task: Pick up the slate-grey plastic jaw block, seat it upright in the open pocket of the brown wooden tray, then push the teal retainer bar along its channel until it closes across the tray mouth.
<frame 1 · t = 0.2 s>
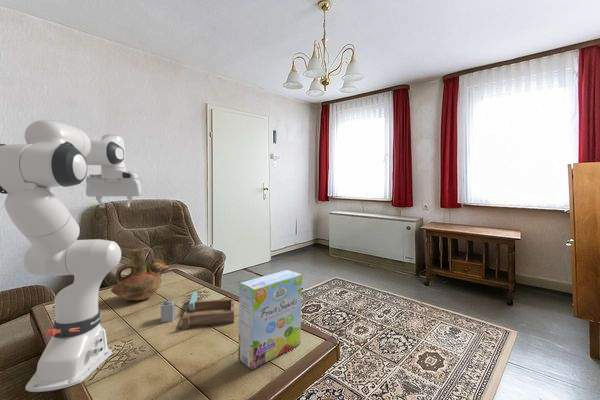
hand: (114, 207, 121), 47 cm above the table, fingers open, 8 cm apart
ceramic vessel: (142, 298, 143), on the table
jaw block: (168, 319, 120), on the table
snack box: (271, 352, 97), on the table
retainer bar: (193, 300, 133), point 3 cm above the table, slide at 13.0 cm
brown wooden tray: (214, 316, 122), on the table
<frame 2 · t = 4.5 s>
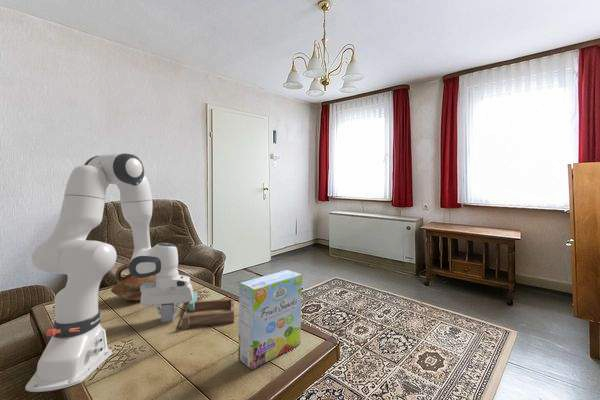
hand: (168, 313, 120), 3 cm above the table, fingers closed on jaw block, 4 cm apart
jaw block: (168, 319, 120), on the table, touching gripper
everything else where it was.
when the fingers open (5 cm above the table, at t = 9.6 s): jaw block drops 1 cm, resting on brown wooden tray.
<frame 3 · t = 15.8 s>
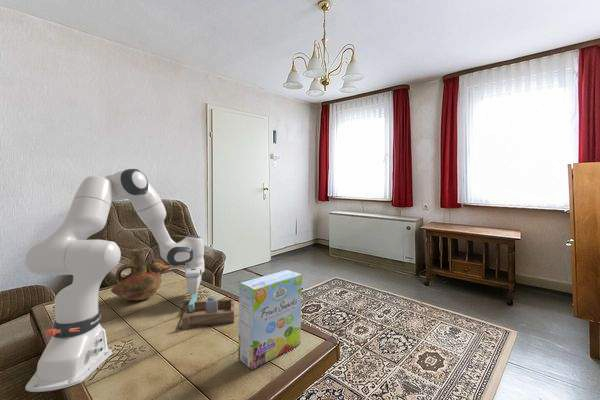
hand: (195, 295, 140), 2 cm above the table, fingers closed
jaw block: (212, 315, 122), point 1 cm above the table, touching brown wooden tray
retainer bar: (193, 301, 131), point 3 cm above the table, slide at 11.7 cm, touching gripper
everything else where it was.
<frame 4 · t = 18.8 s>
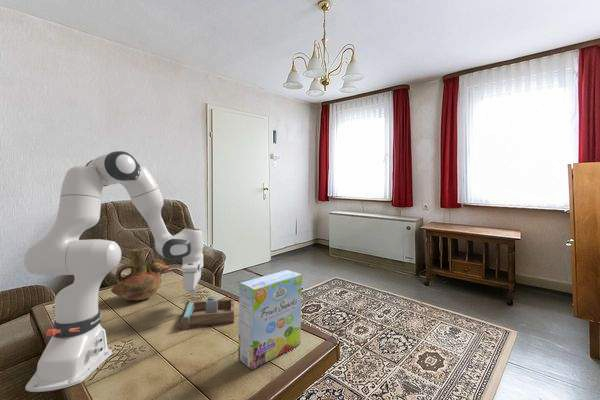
hand: (193, 294, 128), 8 cm above the table, fingers closed
retainer bar: (188, 312, 120), point 3 cm above the table, slide at 0.0 cm
everything else where it was.
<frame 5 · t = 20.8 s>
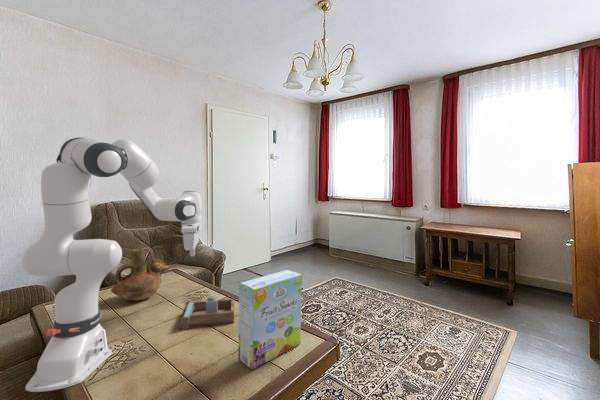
hand: (192, 255, 132), 24 cm above the table, fingers closed
nothing on the table moved.
at the end: jaw block inside the target area on the brown wooden tray (0.3 cm from its centre), point 0.8 cm above the brown wooden tray's base; jaw block tilted 0°; retainer bar slide at 0.0 cm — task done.
